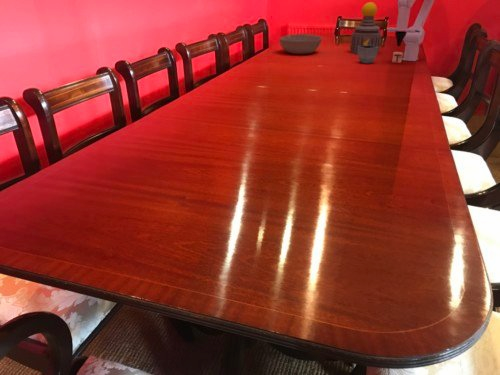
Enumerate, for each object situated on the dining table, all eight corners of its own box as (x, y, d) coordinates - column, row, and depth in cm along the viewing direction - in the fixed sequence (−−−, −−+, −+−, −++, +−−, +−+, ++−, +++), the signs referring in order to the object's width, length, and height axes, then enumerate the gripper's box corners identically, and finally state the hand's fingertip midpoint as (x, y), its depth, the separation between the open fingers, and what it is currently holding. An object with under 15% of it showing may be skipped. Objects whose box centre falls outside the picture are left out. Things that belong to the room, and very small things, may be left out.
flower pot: (364, 64, 223) (366, 48, 219) (355, 62, 230) (357, 46, 226) (377, 63, 226) (379, 47, 222) (367, 60, 233) (369, 44, 229)
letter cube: (392, 60, 233) (393, 52, 231) (401, 61, 232) (402, 52, 229) (392, 62, 229) (393, 53, 226) (401, 62, 227) (402, 53, 225)
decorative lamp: (380, 55, 249) (388, 3, 235) (350, 54, 252) (356, 3, 238) (377, 50, 266) (383, 1, 252) (348, 49, 268) (353, 1, 254)
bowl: (299, 48, 278) (300, 33, 273) (329, 52, 259) (330, 36, 254) (270, 52, 262) (270, 36, 258) (300, 58, 244) (301, 41, 239)
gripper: (387, 19, 216) (383, 45, 222) (414, 21, 209) (410, 47, 215) (391, 18, 221) (387, 44, 227) (418, 19, 214) (413, 46, 220)
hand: (398, 45), depth 222 cm, fingers closed
